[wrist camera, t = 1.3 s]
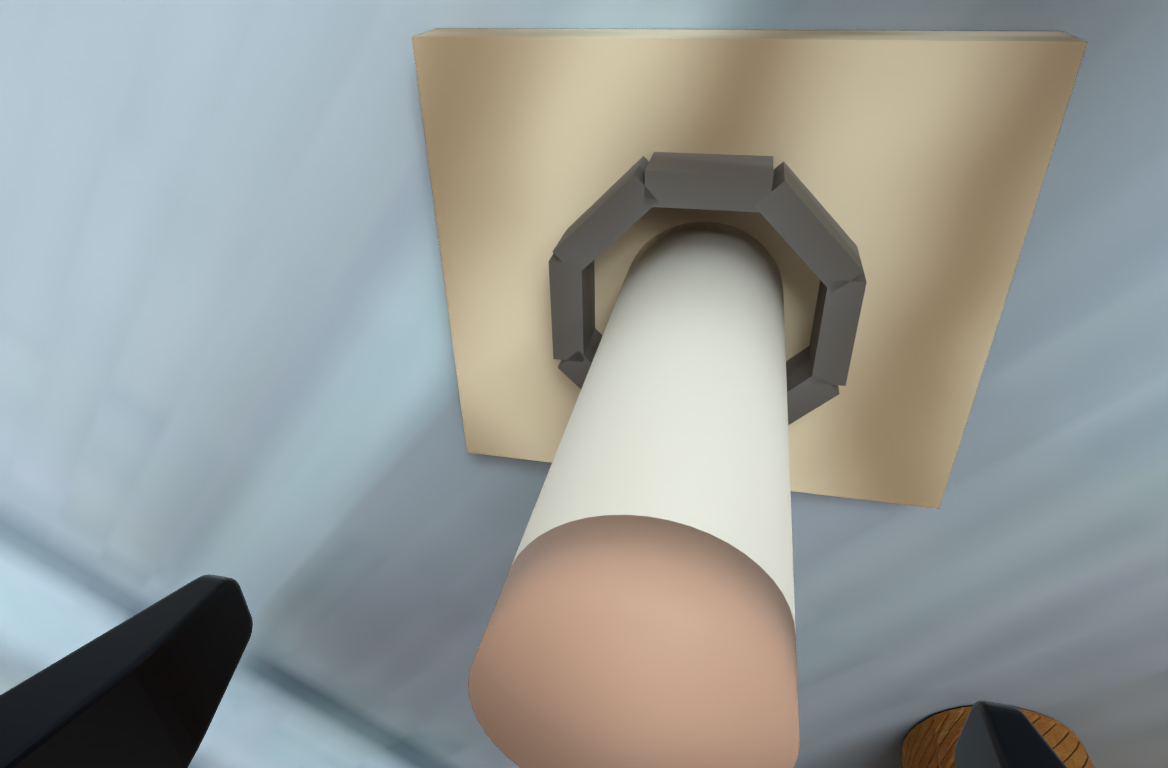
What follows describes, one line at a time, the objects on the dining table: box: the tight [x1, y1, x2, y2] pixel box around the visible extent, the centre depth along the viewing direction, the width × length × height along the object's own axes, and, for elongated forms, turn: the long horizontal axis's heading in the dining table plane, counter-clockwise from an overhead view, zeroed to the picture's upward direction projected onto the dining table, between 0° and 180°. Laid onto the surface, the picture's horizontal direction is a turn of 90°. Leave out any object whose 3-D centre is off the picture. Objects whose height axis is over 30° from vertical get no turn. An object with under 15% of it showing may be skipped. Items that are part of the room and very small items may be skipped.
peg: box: [468, 221, 799, 768], centre depth 14 cm, size 4×4×12 cm
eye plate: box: [412, 28, 1087, 509], centre depth 19 cm, size 14×12×3 cm
